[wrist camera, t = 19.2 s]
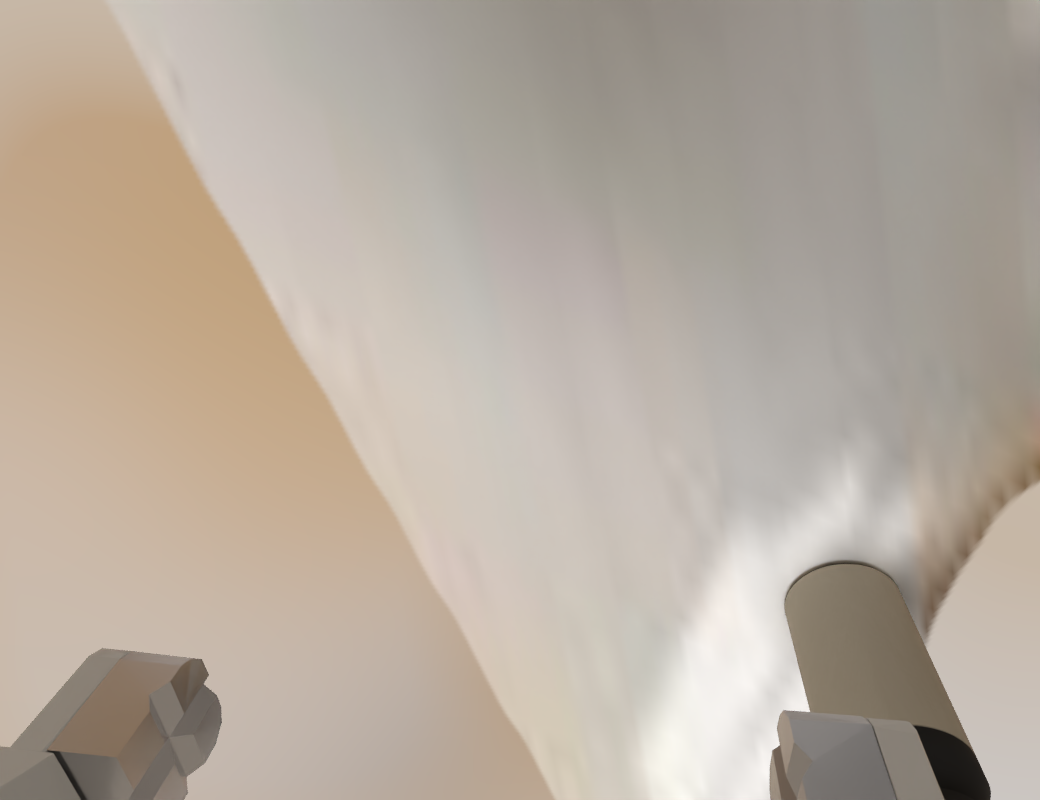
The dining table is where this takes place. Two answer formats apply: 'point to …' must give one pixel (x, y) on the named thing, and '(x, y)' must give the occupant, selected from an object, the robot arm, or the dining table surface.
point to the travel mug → (877, 667)
